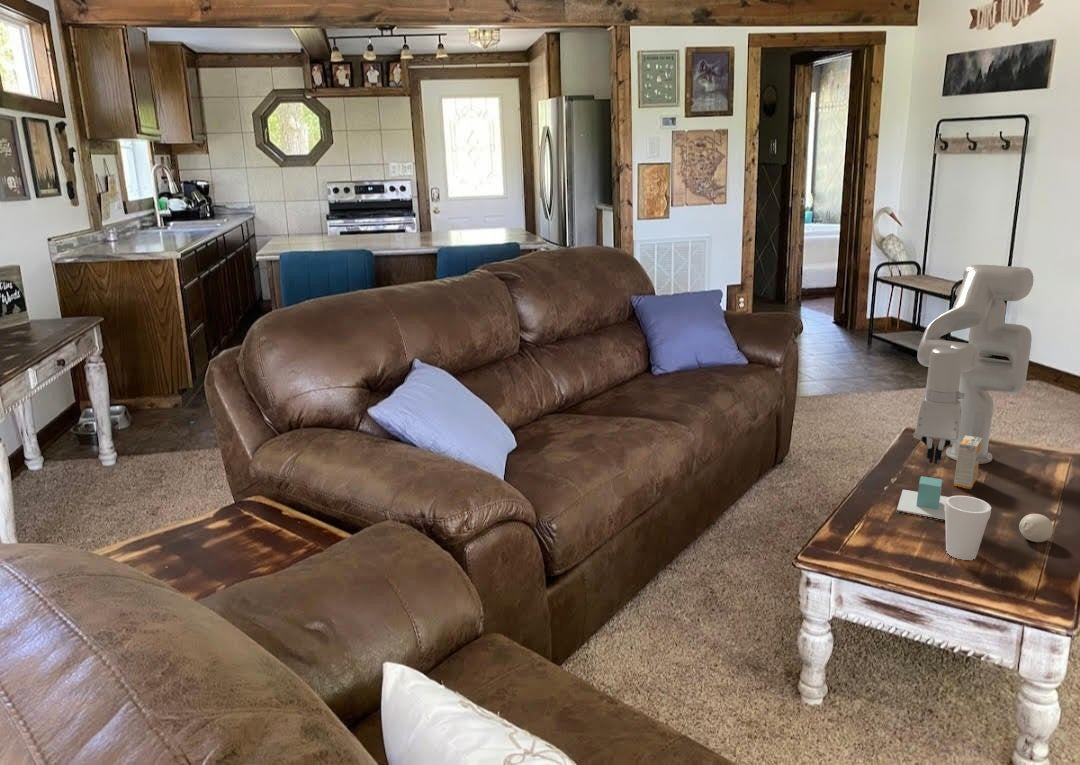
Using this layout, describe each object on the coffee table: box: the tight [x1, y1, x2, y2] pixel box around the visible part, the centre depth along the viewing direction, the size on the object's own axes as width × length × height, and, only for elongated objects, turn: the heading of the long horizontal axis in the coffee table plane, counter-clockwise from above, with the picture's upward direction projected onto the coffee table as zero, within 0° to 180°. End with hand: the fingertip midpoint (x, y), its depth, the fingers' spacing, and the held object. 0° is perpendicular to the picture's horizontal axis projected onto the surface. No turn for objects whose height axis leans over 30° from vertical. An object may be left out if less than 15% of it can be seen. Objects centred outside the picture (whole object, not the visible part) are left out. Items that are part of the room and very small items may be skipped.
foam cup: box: [944, 495, 992, 561], centre depth 185 cm, size 10×9×13 cm
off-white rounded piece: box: [1018, 513, 1054, 543], centre depth 191 cm, size 7×7×7 cm
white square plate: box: [896, 489, 949, 520], centre depth 210 cm, size 14×14×6 cm
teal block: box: [916, 475, 943, 510], centre depth 210 cm, size 5×5×7 cm
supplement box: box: [953, 435, 982, 490], centre depth 223 cm, size 8×5×13 cm, turn 143°
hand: (933, 461), depth 208 cm, fingers closed
